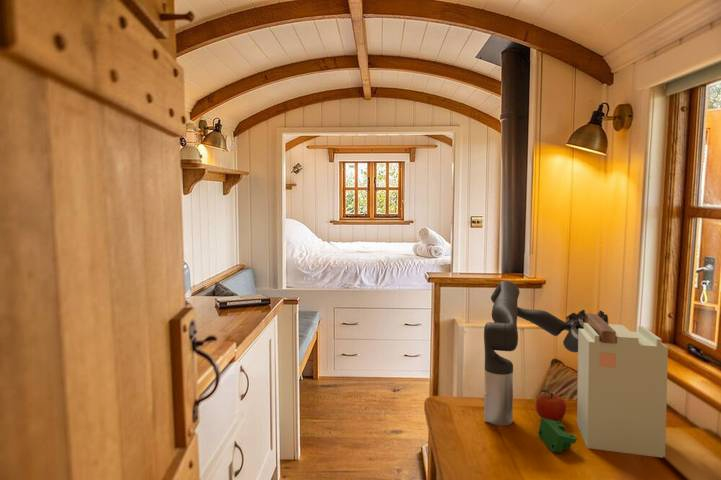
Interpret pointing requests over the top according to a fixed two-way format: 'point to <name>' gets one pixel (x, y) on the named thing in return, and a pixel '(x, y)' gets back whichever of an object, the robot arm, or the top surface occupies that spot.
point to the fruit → (550, 406)
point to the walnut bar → (601, 328)
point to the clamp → (555, 435)
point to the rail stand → (622, 391)
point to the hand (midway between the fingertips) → (592, 313)
